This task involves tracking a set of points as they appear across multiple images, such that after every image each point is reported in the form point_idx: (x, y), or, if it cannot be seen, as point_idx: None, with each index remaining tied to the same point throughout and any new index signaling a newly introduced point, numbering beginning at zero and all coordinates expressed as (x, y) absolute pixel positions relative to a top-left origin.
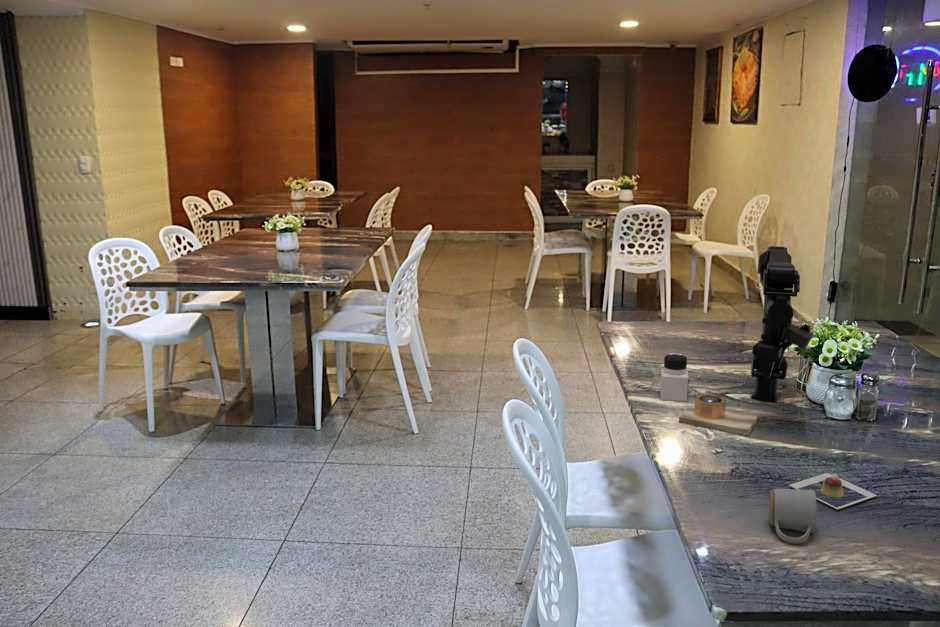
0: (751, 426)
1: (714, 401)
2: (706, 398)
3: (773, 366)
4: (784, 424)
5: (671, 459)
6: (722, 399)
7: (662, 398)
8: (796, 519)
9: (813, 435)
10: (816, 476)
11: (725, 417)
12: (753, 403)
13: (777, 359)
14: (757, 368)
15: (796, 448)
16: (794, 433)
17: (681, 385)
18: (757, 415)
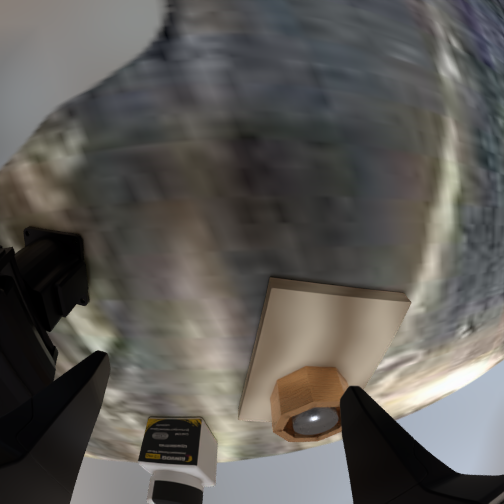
0: (375, 296)
1: (333, 415)
2: (312, 429)
3: (106, 384)
4: (286, 193)
5: (477, 369)
6: (311, 407)
7: (217, 444)
8: None
9: (362, 101)
10: None
11: (327, 361)
12: (121, 295)
13: (81, 415)
14: (54, 373)
15: (460, 171)
16: (363, 162)
17: (203, 455)
18: (285, 291)
